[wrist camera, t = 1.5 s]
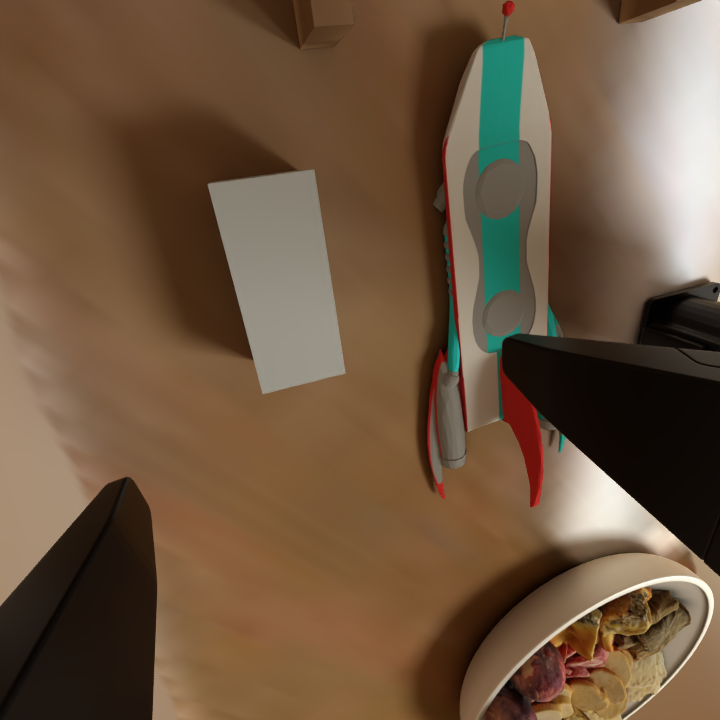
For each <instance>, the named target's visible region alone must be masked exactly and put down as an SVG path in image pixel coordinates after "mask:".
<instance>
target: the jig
mask: <svg viewBox="0 0 720 720" xmlns="http://www.w3.org/2000/svg"><path fill="white" fill-rule="evenodd" d="M699 1H701V0H622V2H621V10H620V18H619V24H622V23H634V22H643V21H646V20H649V19H652V18H654V17H657V16H660V15H663V14H665V13H668V12H671V11H674V10H676V9H679V8H682V7H685V6H688V5H690V4H693V3H696V2H699ZM293 6H294V12H295V19H296V25H297V32H298V38H299V44H300V49H312V48H324V47H335V46H336V44H337V43H338V42H339V41H340V40H341V39H342V38H343V37H344V35H345V34H346V33H347V32H348V31H349V30H350V29H351V27H352V26H353V25H354V16H353V6H352V0H293Z"/></svg>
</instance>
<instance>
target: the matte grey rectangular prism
mask: <svg viewBox="0 0 720 720" xmlns="http://www.w3.org/2000/svg"><path fill="white" fill-rule="evenodd" d="M208 188H209V192H210V196H211V200H212V203H213V207H214V211H215V215H216V219H217V222H218V226H219V230H220V234H221V238H222V241H223V245H224V249H225V253H226V257H227V260H228V264H229V268H230V272H231V276H232V279H233V283H234V287H235V291H236V294H237V298H238V302H239V306H240V310H241V313H242V317H243V321H244V325H245V329H246V332H247V336H248V340H249V344H250V348H251V351H252V355H253V359H254V363H255V367H256V370H257V374H258V378H259V382H260V386H261V389H262V393H263V394H265V393H269V392H273V391H277V390H281V389H285V388H289V387H293V386H297V385H301V384H305V383H309V382H313V381H317V380H321V379H325V378H329V377H333V376H337V375H341V374H345V367H344V361H343V354H342V348H341V341H340V335H339V328H338V322H337V315H336V308H335V302H334V295H333V289H332V282H331V276H330V269H329V263H328V256H327V250H326V243H325V236H324V230H323V223H322V217H321V210H320V204H319V197H318V191H317V184H316V178H315V171H314V169H313V170H296V171H288V172H281V173H274V174H266V175H259V176H251V177H244V178H237V179H229V180H222V181H215V182H210V183H208Z"/></svg>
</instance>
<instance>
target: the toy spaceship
mask: <svg viewBox="0 0 720 720" xmlns="http://www.w3.org/2000/svg"><path fill="white" fill-rule="evenodd" d="M514 6H515V5H514V3H513V2H512V1H507V2H506V3H504V4H503V9H502V13H503V14H504V25H503V33H502V38H498V39H492V40H488V41H486V42H484V43H483V44H481V45H479V46H478V47H477V48H476V49H475V50H474V51H473V53H472V55H471V57H470V60H469V62H468V65H467V67H466V69H465V72H464V74H463V76H462V79H461V81H460V84H459V87H458V91H457V95H456V98H455V102H454V105H453V109H452V112H451V116H450V119H449V123H448V126H447V130H446V134H445V137H444V141H443V148H442V165H443V178H444V182H443V183H442V185H441V186H440V187H439V189H438V191H437V194H436V195H437V197H436V199H435V200H434V202H433V205H434V206H435V207H436V208H437V209H438V210H440V211H441V212H444V210H445V209H446V218H447V220H446V222H445V225H444V228H443V235H444V237H445V242H444V248H446V253H445V260H447V266H446V271H447V272H448V277H447V282H448V283H449V289H448V294H449V297H450V312H449V334H448V349H447V351H446V352H445V354H444V355H443V353H442V351H441V349H440V351H439V355H438V358H437V360H436V362H435V365H434V369H433V376H432V384H431V389H430V395H429V409H428V423H427V447H428V456H429V462H430V466H431V470H432V474H433V477H434V481H435V483H436V486H437V489H438V491H439V494H440V495H441V497H442V498H443V499H445V495H444V489H443V482H442V465H443V466H444V467H446V468H450V469H455V468H459V467H461V466H463V464H464V463H465V460H466V448H465V431H466V432H469V431H471V430H474V429H477V428H479V427H482V426H485V425H488V424H490V423H493V422H496V421H498V420H501V419H502V420H503V421H505V422H507V423H509V424H510V426H511V428H512V430H513V432H514V434H515V436H516V438H517V440H518V442H519V444H520V447H521V450H522V453H523V456H524V459H525V464H526V468H527V473H528V477H529V482H530V507H534V506H536V505H538V504H539V501H540V495H541V489H542V481H543V445H542V439H541V432H540V427H541V428H543V429H546V430H556V428H555V427H554V426H553V425H552V424H551V423H549V422H548V421H547V420H546V419H545V418H544V417H543V416H542V415H541V414H540V413H539V412H538V411H537V410H536V409H535V408H534V406H533V405H532V404H531V403H530V402H529V401H528V400H527V399H526V398H525V396H524V395H523V394H522V393H521V392H520V391H519V390H518V389H517V388H516V387H515V385H514V384H513V383H512V382H511V381H510V380H509V379H508V378H507V377H506V375H505V374H504V372H503V370H502V342H503V340H504V339H505V338H506V337H509V336H511V335H514V334H518V333H522V334H532V335H543V336H553V337H563V333H562V330H561V328H560V325H559V323H558V322H557V320H556V318H555V315H554V312H553V313H552V311H551V309H550V306H549V304H548V284H549V242H550V199H551V155H552V127H551V120H550V116H549V111H548V107H547V103H546V99H545V94H544V90H543V86H542V82H541V77H540V73H539V69H538V65H537V60H536V56H535V52H534V50H533V47H532V45H531V42H530V40H529V39H528V38H525V37H520V36H516V35H514V36H508V37H505V33H506V27H507V23H508V19H509V15H510V14H511V13H512V12H513V11H514ZM559 435H560V441H559V450H558V452H559V453H560V452H561V450H562V447H563V445H564V440H565V436H564V435H563V434H562V433H561V432H559Z"/></svg>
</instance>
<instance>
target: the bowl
mask: <svg viewBox="0 0 720 720" xmlns="http://www.w3.org/2000/svg"><path fill="white" fill-rule="evenodd" d="M713 607H714V599H713V594H712V591H711V589H710V588H709V586H708V585H707V584H706V583H705V582H704V581H703V580H702V579H700V578H699V577H698V576H697V575H696V574H694V573H693V572H692V571H690V570H689V569H688V568H686V567H684V566H682V565H681V564H679V563H677V562H675V561H672V560H670V559H667V558H664V557H661V556H657V555H652V554H646V553H623V554H615V555H610V556H605V557H602V558H598V559H595V560H592V561H589V562H586V563H583V564H581V565H579V566H576V567H574V568H572V569H570V570H568V571H566V572H564V573H562V574H560V575H558V576H556V577H555V578H553V579H551V580H550V581H548V582H546V583H545V584H543V585H542V586H540V587H539V588H538V589H536V590H535V591H533V592H532V593H531V594H529V595H528V596H527V597H525V598H524V599H523V600H522V601H521V602H519V603H518V604H517V605H516V606H515V607H514V608H513V609H511V610H510V611H509V612H508V613H507V614H506V615H505V616H504V617H503V618H502V619H501V620H500V621H499V622H498V624H497V625H496V626H495V627H494V628H493V629H492V630H491V632H490V633H489V634H488V635H487V637H486V638H485V640H484V641H483V642H482V644H481V645H480V647H479V648H478V650H477V652H476V653H475V655H474V657H473V659H472V661H471V663H470V665H469V667H468V670H467V672H466V675H465V678H464V681H463V685H462V690H461V696H460V720H626V719H627V718H628V717H630V716H631V715H632V714H633V713H635V712H636V711H637V710H638V709H640V708H641V707H642V706H643V705H645V704H646V703H647V702H648V701H649V700H650V699H651V698H652V697H654V696H655V695H656V694H657V693H658V692H659V691H660V690H661V689H662V688H663V687H664V686H665V685H666V684H667V683H668V682H669V681H670V680H671V679H672V678H673V677H674V676H675V675H676V673H677V672H678V671H679V670H680V669H681V668H682V666H683V665H684V664H685V663H686V662H687V660H688V659H689V658H690V656H691V655H692V654H693V652H694V650H695V649H696V648H697V646H698V645H699V643H700V642H701V640H702V638H703V636H704V634H705V632H706V630H707V628H708V626H709V623H710V620H711V617H712V613H713Z"/></svg>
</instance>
